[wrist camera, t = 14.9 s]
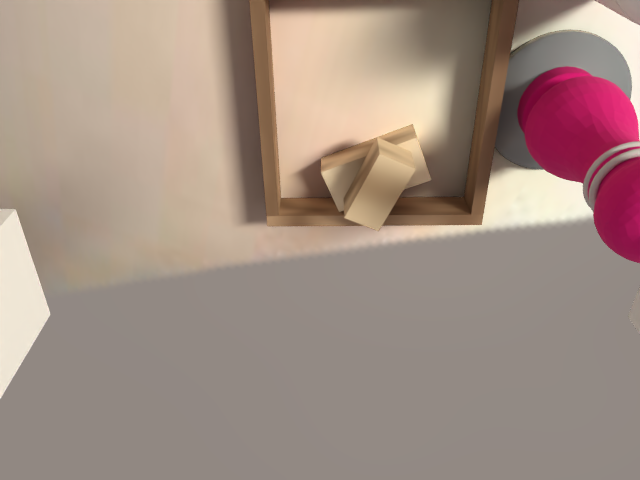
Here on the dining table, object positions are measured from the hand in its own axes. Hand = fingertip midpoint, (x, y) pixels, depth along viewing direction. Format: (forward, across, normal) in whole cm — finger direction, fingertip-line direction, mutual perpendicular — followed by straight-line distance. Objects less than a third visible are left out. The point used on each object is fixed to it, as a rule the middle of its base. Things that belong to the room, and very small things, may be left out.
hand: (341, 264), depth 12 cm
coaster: (+34, +18, -8) cm, 39 cm away
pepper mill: (+33, +18, -9) cm, 39 cm away
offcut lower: (+34, +4, -14) cm, 37 cm away
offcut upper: (+31, +4, -14) cm, 35 cm away
